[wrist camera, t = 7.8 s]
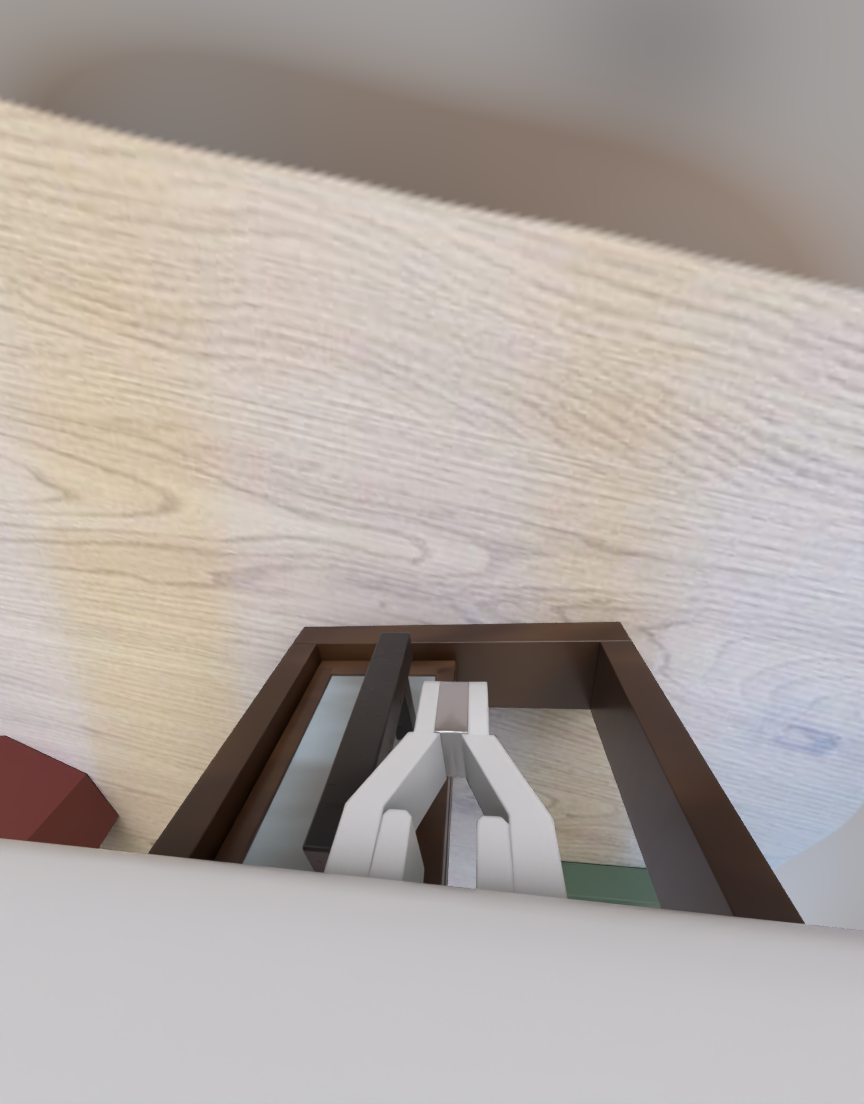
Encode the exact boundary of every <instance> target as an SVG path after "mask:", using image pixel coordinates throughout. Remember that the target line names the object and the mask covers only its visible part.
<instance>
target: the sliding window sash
mask: <svg viewBox="0 0 864 1104" xmlns="http://www.w3.org/2000/svg"><path fill="white" fill-rule="evenodd" d="M412 658H413V650H412V644H411V639H410V634H409V632H386V633H381V634H380V636H379V639H378V642H377V645H376V647H375V650H374V653H373V655H372V658H371V661H321V663H320V665H319V667H318V669H317V671H316V672H315V675H314V677H313V678H312V680H311V682H310V684H309V686H308V688H307V689H306V691H305V693H304V695H303V697H302V699H301V701H300V702H299V704H298V706H297V708H296V710H295V712H294V713H293V715H292V717H291V719H290V721H289V723H288V725H287V726H286V728H285V730H284V732H283V734H282V736H281V737H280V739H279V741H278V743H277V745H276V747H275V749H274V750H273V752H272V754H271V756H270V758H269V760H268V761H267V763H266V765H265V767H264V769H263V771H262V773H261V774H260V776H259V778H258V780H257V782H256V784H255V785H254V787H253V789H252V791H251V793H250V795H249V797H248V798H247V800H246V802H245V804H244V806H243V808H242V809H241V811H240V813H239V815H238V817H237V819H236V821H235V822H234V824H233V826H232V828H231V830H230V832H229V834H228V835H227V837H226V839H225V841H224V843H223V845H222V846H221V848H220V850H219V852H218V854H217V856H216V858H215V859H214V861H219V862H229V863H238V864H247V865H257V866H266V867H275V868H285V869H294V870H304V871H313V872H322V873H324V870H325V867H326V863H327V860H328V857H329V854H330V851H331V847H332V844H333V841H334V838H335V835H336V831H337V828H338V825H339V822H340V819H341V815H342V812H343V809H344V806H345V803H346V802H347V801H348V800H349V799H350V797H351V796H352V795H353V794H354V793H355V792H356V791H357V789H358V788H359V787H360V786H361V785H362V784H363V783H364V782H365V780H366V779H367V778H368V777H369V776H370V775H371V774H372V773H373V771H374V770H375V769H376V768H377V767H378V766H379V765H380V764H381V762H382V761H383V760H384V759H385V758H386V757H387V756H388V754H389V753H390V752H391V751H392V750H393V749H394V748H395V747H396V745H397V744H398V743H399V742H400V741H401V740H402V739H403V738H404V736H405V735H406V734H407V733H408V732H414V727H415V722H416V716H417V710H418V705H419V699H420V694H421V688H422V684H423V682H424V681H456V671H457V669H456V661H412ZM446 778H447V779H446V781H445V782H444V784H443V786H442V787H441V789H440V791H439V792H438V794H437V796H436V797H435V799H434V801H433V802H432V804H431V806H430V807H429V809H428V811H427V812H426V814H425V816H424V817H423V819H422V821H421V822H420V824H419V826H418V827H417V829H416V831H415V833H416V837H417V841H418V845H419V849H420V853H421V857H422V861H423V865H424V879H423V883H425V884H435V885H444V878H445V861H446V844H447V826H448V809H449V791H450V777H446Z"/></svg>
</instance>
